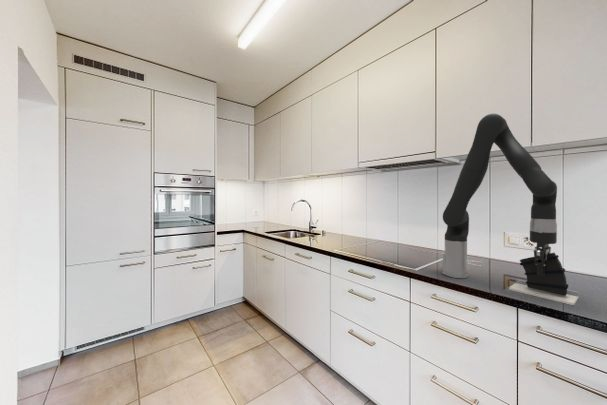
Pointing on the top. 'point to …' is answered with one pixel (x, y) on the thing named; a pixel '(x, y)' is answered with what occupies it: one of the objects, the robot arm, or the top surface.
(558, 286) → the magazine
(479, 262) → the pliers
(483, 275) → the top surface
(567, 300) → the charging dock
